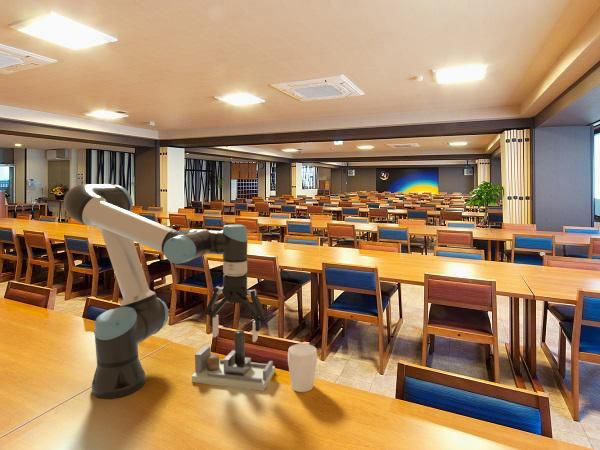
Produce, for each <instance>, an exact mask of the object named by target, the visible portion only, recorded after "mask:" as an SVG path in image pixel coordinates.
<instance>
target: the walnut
mask: <svg viewBox="0 0 600 450" xmlns="http://www.w3.org/2000/svg"><path fill="white" fill-rule="evenodd" d="M219 360H220V355H219V354H214V353H212V354H211V355H209V356H207V370H208V371H217V370H219V368H220V367H219Z"/></svg>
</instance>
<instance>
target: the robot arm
mask: <svg viewBox="0 0 600 450" xmlns="http://www.w3.org/2000/svg"><path fill="white" fill-rule="evenodd" d="M133 206H134V204H133V198H132V195H131V194H130V192H129V191H128V190H127V189H126V188H125V187H123V186H121V185H118V184H112V183H103V184H98V183H97V184H96V183H95V184H94V183H93V184H92V183H90V184H88V183H84V184H83V183H82V184H77V185H75V186H73V187H72V188H70V189H69V190H67V192H66V194H65V195H64V197H63V207H64V210H65V212H66V214H67V215H68V217H70V218H71V219H72V220H74V221H75V222H78V223H80V224H82V225H85V226H87V227H92V228H94V229H96V230H98V231H100V232H101V235H102V238H103V241H104V244H105V248H106V250H107V253H108V257H109V260H110V262H111V266H112V268H113V273H114V275H115V278H116V281H117V284H118V286H119V289H120V293H121V295H122V300H121V302H120V305H119V307H115V308H114V309H113V308H111V309H108V310H106V311H104V312H101V314H99V315H98V316H97V317H96V319H95V322H94V329H93V330H94V331H93V332H94V342H95V343H94V344H95V353H96V356H95V357H96V369H95V371H94V375H93V379H92V382H91V393H92V395H93V396H95V397H96V398H100V399H115V398H116V399H117V398H121V397H122V398H123V397H124V396H128V395H131V394H134V393H135V392H137V391H138V390H140V389H142V387H143V386H144V385H145V384H146V373H145V370H144V368H143V366H142V364H141V363H142V362H141V361H140V358H139V344H140V343H142V342H144V341H145V340H147V339H148V338H150V337H151V336H153V335H155V334H157V333H159V331H161V330H162V329H163V328H164V327H165V325H166V324H167V322H168V319H169V315H170V313H169V308H168V305H167V304H166V302H165V301H164V300H162V299H161V298H159V297H157V293H156V292H155V291H153V290H151V289H150V287H149V284H148V281H147V279H146V275H145V272H144V269H143V267H142V263H141V261H140V258H139V257H140V256H139V255H138V251H137V248H136V246H135V245H136V244H135V243H137V244H140V245H142V246H144V247H148V248H150V249H152V250H154V251H157V252H160V253H162V254H163V255H164V257H165V258H166V259H167V260H168V261H169V262H170V263H172V264H176V265H177V264H179V265H180V264H183V263H187V262H189V261H192V260H194V259H197V258H200V257H202V256H206V255H209V254H210V255H211V254H212V255H222V264H223V265H222V267H223V268H222V272H223V275H222V283H223V284H222V285H223V287H221V286H220V285H217V286H216V287H214V288H213V292H212V293H213V294H212V296H211V298H210V300H209V302H208V304H207V306H206V308H205V310H204V315H206V316H207V315H208V316H209V317H210V318H209V319H210V320H209V322H210V323H209V324H210V327H212V338H216V337H217V336H218V335H219V315H218V312H219V311H220V310H221V309H222V308H223V307H224V306H225V304H227V302H229V303H231V304H232V303H233V304H234V303H235V304H240V305H241V306H243V307H244V308H245V310H246V311H247V312H248V314H249V315H250V316H251V318H252V319H253V321H252V343H256V341H257V340H258V339H259V337H258V335H259V334H258V332H259V331H260V330H261V328H262V327H261V325H262V324H261V322H262V321H264V320H265V319H266V318H267V314H266V312H265V310H264V307H263V305H262V303H261V300H260V298H259V296H258V291H257V289H256V288H254V289H248V274H247V273H248V241H249V238H248V228H247V227H246V226H245V225H244V224H225V225H223V227H222V230H215V229H214V230H212V229H210V230H209V229H201V228H199V229H190V230H188V233H184V232H182V231H179V230H176V229H174V228H172V227H169V226H167V225H164V224H161V223H159V222H156V221H154V220H152V219H148V218H146V217H144V216H141V215H139V214H136V213H134V212H132V208H133ZM220 294H223V296H224V297H223V298H222V299H221V301H220V302H219V303H218V304H217V306H216V307H215V308H214V306H215V305H216V302H217V300H218V298H219V296H220ZM247 296H249V298H251V301H252V303H253V305H252V303H251V302H250V299H249V298H248V297H247Z"/></svg>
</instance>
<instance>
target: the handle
mask: <svg viewBox="0 0 600 450" xmlns="http://www.w3.org/2000/svg"><path fill="white" fill-rule="evenodd" d="M233 335H234V337H233V338H234V349H232V350H231V351H230V352H229V353H228V354H227V355H226V356H225V357H224V358H223V359H224V374H231V375H239V376H244V375H245V374H246V373H247V371H248V370H249V369H250V367H251V362H252V357H247V356H246V353H245V352H246V351H245V349H246V346H245V343H246V342H245V339H246V338H245V331H244V330H241V329H239V330H235V331H234V332H233Z"/></svg>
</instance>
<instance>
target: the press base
mask: <svg viewBox="0 0 600 450" xmlns="http://www.w3.org/2000/svg"><path fill="white" fill-rule="evenodd" d="M211 352H212V351H211V345H206V344H205V345H204V346H202V348H200V349H199V350H198V351H196V353H195V354H194V366H195V372H194V373H192V375H191V382H192V383H198V384H204V385H205V384H206V385H213V386H222V387H223V386H224V387H229V388H230V387H231V388H238V389H246V390H254V391H262V392H264V391H265V389H266V387H267V386H268V384H269V383H270V381H271V379H272V378H273V376H274V374H275V372H276V366H275V365H273V364H274V363H273V362H274V361H273V360H269V361H268V362H267V363H260V362H252V361H251V367H250V369H249V370H248V371H247V373H246V374H245V375H244V376H239V375H231V374H224V359H225V358H223V359H222V358H221V359H220V358H219V367H220V368H219V370H217V371H208V370H207V356H209V355H212V354H211Z"/></svg>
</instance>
